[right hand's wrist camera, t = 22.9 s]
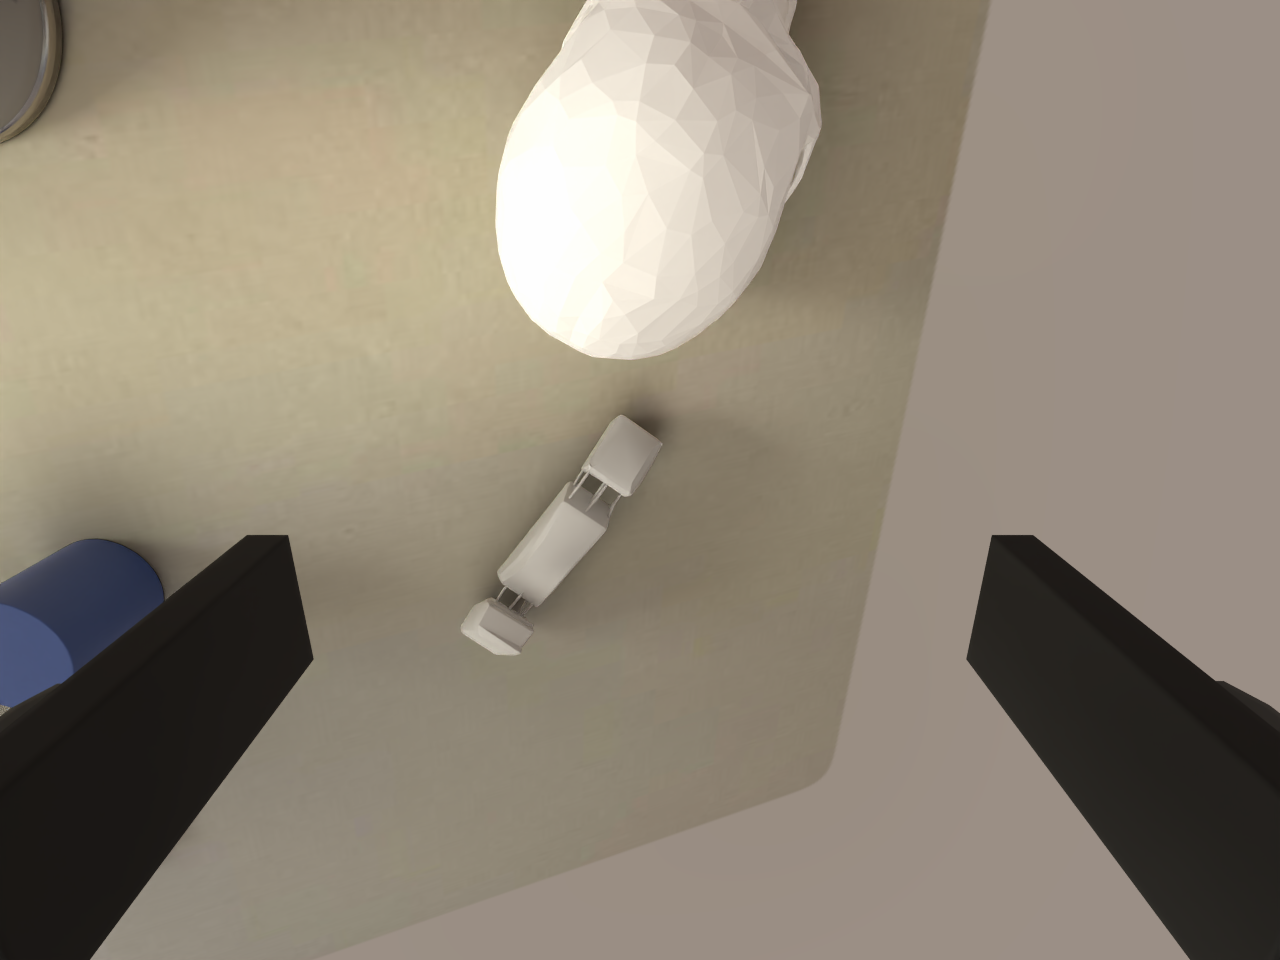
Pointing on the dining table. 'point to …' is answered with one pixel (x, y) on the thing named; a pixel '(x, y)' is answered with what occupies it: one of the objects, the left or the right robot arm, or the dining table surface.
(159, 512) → the dining table surface
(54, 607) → the can
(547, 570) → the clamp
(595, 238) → the skull
